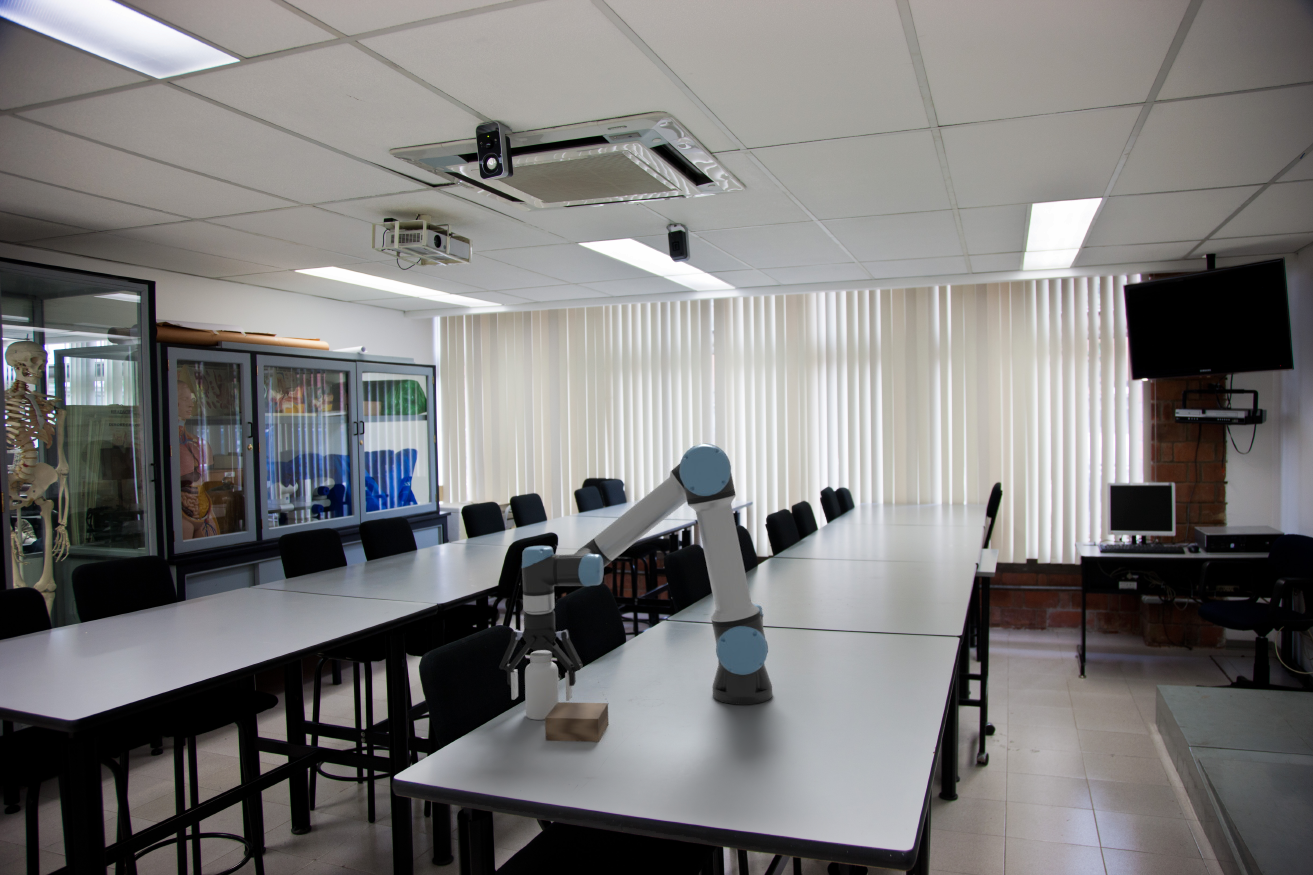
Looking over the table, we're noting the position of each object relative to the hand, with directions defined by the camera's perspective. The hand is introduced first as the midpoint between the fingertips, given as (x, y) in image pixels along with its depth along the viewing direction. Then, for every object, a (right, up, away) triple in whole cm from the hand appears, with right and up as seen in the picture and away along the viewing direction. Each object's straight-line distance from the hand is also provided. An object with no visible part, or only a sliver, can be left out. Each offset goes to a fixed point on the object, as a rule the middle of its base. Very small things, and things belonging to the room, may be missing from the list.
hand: (541, 698), depth 185 cm
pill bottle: (0, -4, 0) cm, 4 cm away
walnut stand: (+10, -4, -12) cm, 16 cm away
